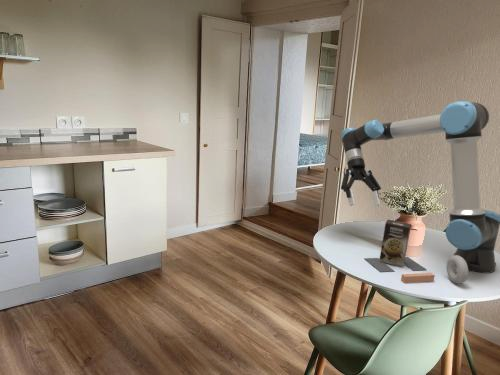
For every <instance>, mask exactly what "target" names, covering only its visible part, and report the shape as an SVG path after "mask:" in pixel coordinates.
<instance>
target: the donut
mask: <svg viewBox="0 0 500 375" xmlns="http://www.w3.org/2000/svg"><path fill="white" fill-rule="evenodd" d="M445 267H446V273H447V276H448V278H449V279H450V281H451V282H453V283H454V284H463V283H464V282H465V281H466V280H467V279H468V276H469V270H468V266H467V263H466V261H465V260H464V259H463V258H462V257H461V256H458V255H454V254H453V255H452V256H450V257H449V259H447V262H446V266H445Z"/></svg>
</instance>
